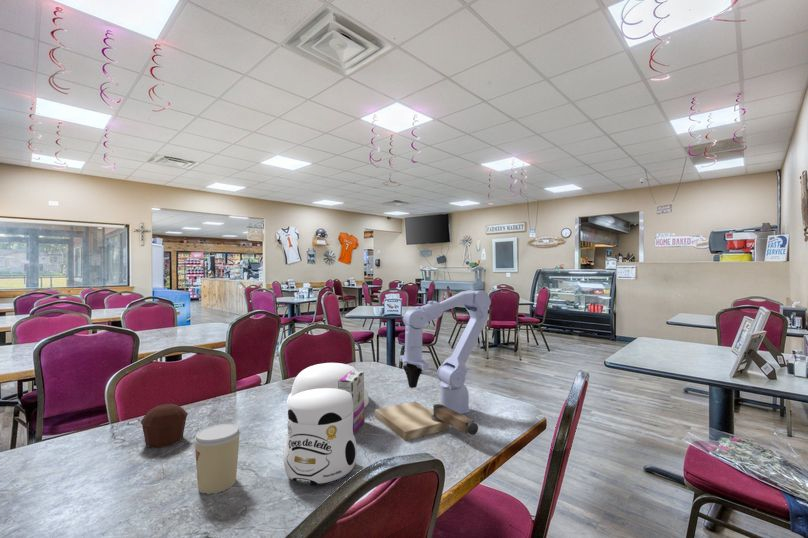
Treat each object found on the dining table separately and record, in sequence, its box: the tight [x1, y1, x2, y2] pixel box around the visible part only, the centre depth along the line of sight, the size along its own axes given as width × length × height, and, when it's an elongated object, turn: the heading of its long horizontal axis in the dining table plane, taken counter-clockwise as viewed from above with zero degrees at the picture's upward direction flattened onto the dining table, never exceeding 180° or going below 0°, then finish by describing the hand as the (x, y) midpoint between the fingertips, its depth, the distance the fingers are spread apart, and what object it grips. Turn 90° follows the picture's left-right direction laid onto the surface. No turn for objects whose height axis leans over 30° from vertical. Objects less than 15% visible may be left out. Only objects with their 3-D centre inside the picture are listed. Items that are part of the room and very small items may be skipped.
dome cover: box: [286, 362, 370, 411], centre depth 136 cm, size 32×30×14 cm
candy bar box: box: [338, 370, 365, 435], centre depth 113 cm, size 11×5×16 cm, turn 168°
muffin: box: [140, 403, 189, 449], centre depth 105 cm, size 12×11×10 cm
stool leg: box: [432, 403, 479, 436], centre depth 108 cm, size 18×3×3 cm, turn 32°
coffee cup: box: [193, 423, 241, 495], centre depth 83 cm, size 9×9×12 cm
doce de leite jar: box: [282, 388, 358, 487], centre depth 88 cm, size 17×17×18 cm
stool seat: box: [374, 401, 451, 441], centre depth 117 cm, size 16×20×3 cm
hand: (412, 387), depth 121 cm, fingers closed
